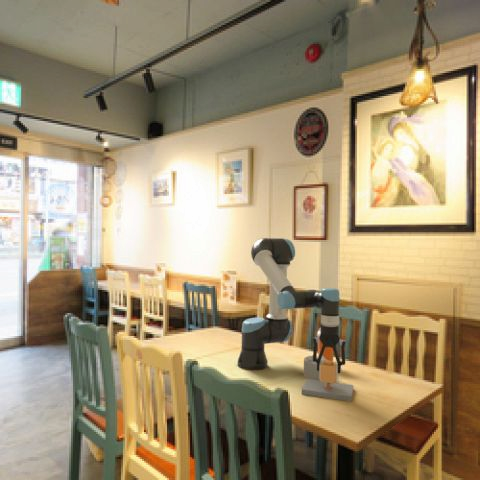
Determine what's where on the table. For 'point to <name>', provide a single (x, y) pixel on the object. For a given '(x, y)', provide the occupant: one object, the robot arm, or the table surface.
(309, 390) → the plate
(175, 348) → the table surface
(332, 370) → the tan hollow block
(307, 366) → the lumpy-topped squat cylinder
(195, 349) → the table surface
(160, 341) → the table surface
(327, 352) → the shaker bottle
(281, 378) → the table surface
